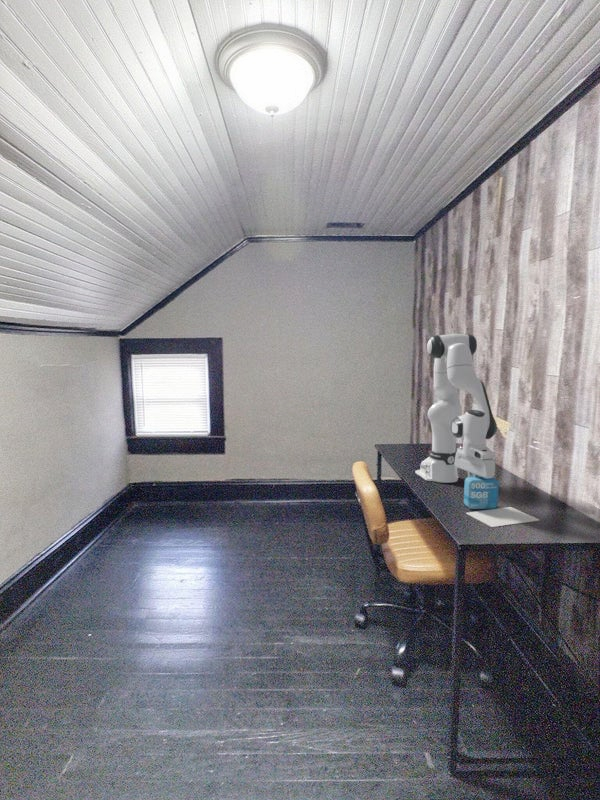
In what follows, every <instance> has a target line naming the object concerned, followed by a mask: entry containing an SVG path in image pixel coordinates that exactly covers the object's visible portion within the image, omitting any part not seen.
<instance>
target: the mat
mask: <svg viewBox="0 0 600 800" xmlns="http://www.w3.org/2000/svg"><path fill="white" fill-rule="evenodd" d="M465 514H466V515H468V516H469V517H471V518H474V519H475V520H477V521H479V522H480V523H483V524H485V525H486V526H488V527H491V528H492V527H493V528H498V527H499V526H500V527H505V525H506V526H511V525H512V526H513V525H518V524H526V523H533V522H540V519H539V518H537V517H534V516H532V515H531V514H528V513H525V512H523V511H521V510H519V509H516V508H514V507H511V506H506V507H499V508H495V509H482V510H476V511H469V512H465Z"/></svg>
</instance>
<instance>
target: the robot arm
mask: <svg viewBox="0 0 600 800" xmlns="http://www.w3.org/2000/svg"><path fill="white" fill-rule="evenodd" d="M477 348H478V343H477V338H476V337H475V336H474V335H473V334H470V333H465V334H463V333H462V334H461V333H450V334H441V335H439V334H437V335H436V334H435V335H432V336H430V337H429V339H428V341H427V344H426V350H427V354H428V355H429V356H430V357H431V358H434V363H433V390H434V393H435V395H436V400H437V402H435V403H433V404H432V405H431V406H430V407H429V408H428V410H427V418H428V420H429V422H430V427H431V435H432V439H431V442H432V443H431V449H428V452H429V455H428V457H426V458H425V459H424V460H422V461H421V463H420V469H416V470H415V474H416V475H418V476H420V478H421V479H423V480H425V481H428V482H436V483H443V484H444V483H445V484H447V483H448V484H449V483H450V484H451V483H456V482H458V481H459V478H460V476H459V475H458V469H461V470H463V471H466V472H467V477H484V478H494V477H495V474H496V462H495V459H496V453H495V452H494V451H492V449H490V448H489V447H488V446H487V440H490V439H492V437H494V436H495V435H496V433H497V431H498V425H497V421H496V419H495V418H494V415H493V412H492V408H491V405H490V400H489V397H488V394H487V391H486V386H485V384H484V382H483V380H481V378H479V377H478V375H477V373H476V371H475V367H474V361H473V355H474V354H475V353H476V352H477ZM459 390H461V391H463V392H464V391H465V392H466V393H468V394H470V395H471V396H472V397H473V398H474V401H475V403H476V409H469V410H467V411H465V413H464V414H462V413H463V408H462V404H461V401H460V394H459ZM457 438H458V439H463V441H462V446H461V445H460V446H459V447H457V446H456V445H457ZM456 447H457V448H456Z"/></svg>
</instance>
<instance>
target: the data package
mask: <svg viewBox="0 0 600 800" xmlns="http://www.w3.org/2000/svg"><path fill="white" fill-rule="evenodd" d="M499 485H500V482H499V481H498V480H497V479H496V478H494V477H493V478H484V477H481V476H479V477H468V476H467V477H466V478H465V479H464V487H463V489H464V490H463V491H464V492H463V504H464V506H465V507H468V509H470V510H491V509H497V507H498V503H499Z"/></svg>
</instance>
